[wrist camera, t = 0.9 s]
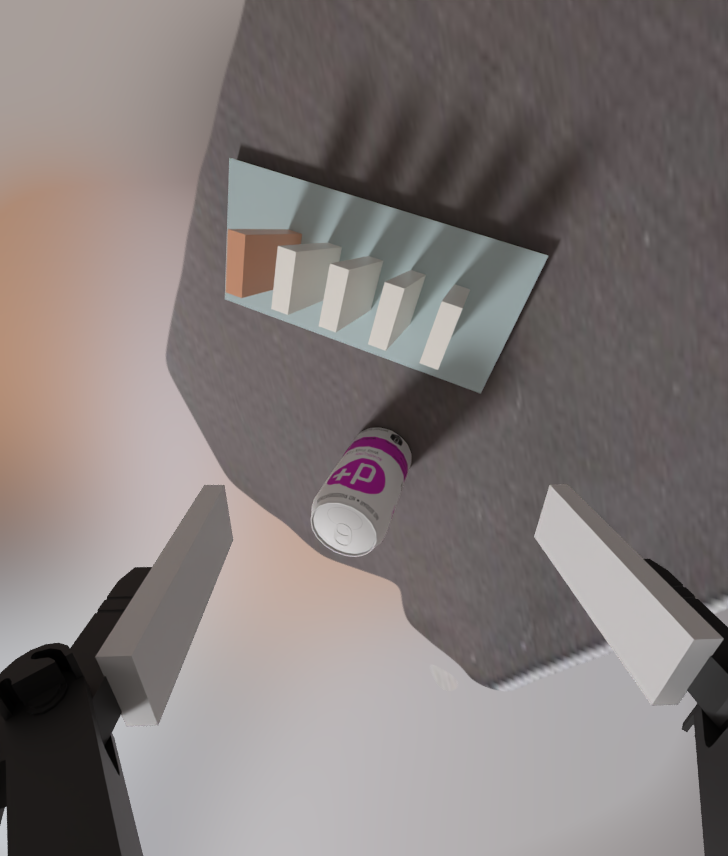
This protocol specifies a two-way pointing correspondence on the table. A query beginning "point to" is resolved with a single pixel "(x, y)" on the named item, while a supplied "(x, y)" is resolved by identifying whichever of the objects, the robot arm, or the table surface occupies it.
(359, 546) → the supplement can
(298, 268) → the domino
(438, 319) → the domino
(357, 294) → the domino
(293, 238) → the domino
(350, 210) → the domino board
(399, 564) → the table surface
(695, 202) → the table surface
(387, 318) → the domino
